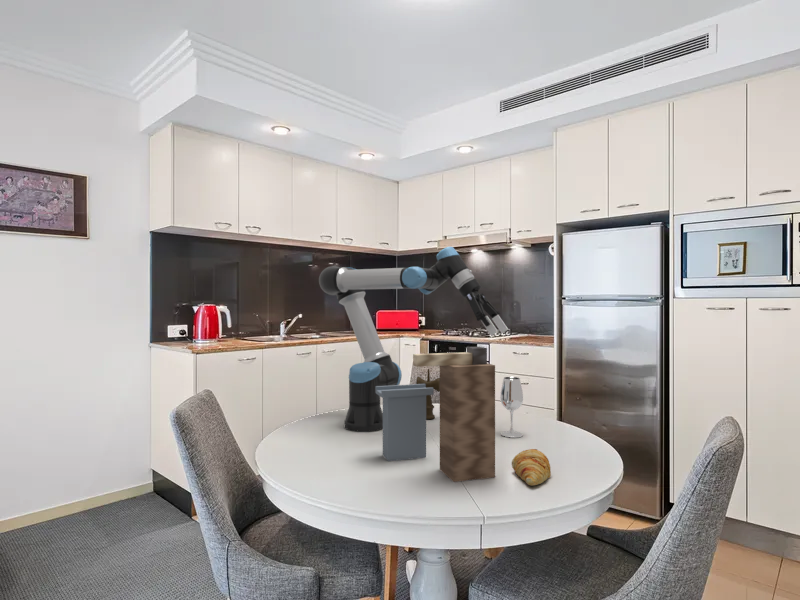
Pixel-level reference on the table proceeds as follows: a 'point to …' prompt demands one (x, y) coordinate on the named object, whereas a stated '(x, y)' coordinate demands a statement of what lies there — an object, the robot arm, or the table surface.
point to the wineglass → (511, 401)
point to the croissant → (532, 466)
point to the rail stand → (404, 420)
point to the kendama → (429, 405)
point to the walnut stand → (467, 421)
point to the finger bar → (452, 358)
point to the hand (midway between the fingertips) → (500, 332)
